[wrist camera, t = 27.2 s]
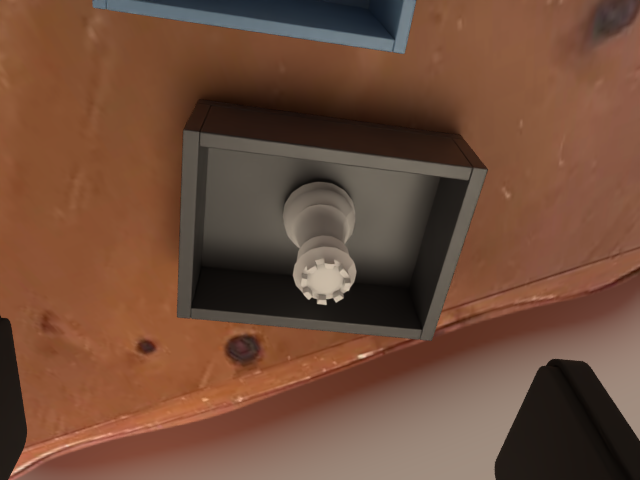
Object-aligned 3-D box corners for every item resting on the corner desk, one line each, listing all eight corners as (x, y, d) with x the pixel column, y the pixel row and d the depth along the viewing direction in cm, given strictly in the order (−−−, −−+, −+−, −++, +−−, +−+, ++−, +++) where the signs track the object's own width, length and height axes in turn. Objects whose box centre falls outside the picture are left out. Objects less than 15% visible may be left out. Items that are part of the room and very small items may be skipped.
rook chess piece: (336, 166, 33) (349, 232, 26) (365, 225, 35) (383, 300, 28) (270, 196, 34) (265, 267, 27) (301, 252, 36) (304, 331, 29)
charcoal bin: (190, 268, 37) (176, 317, 33) (198, 98, 31) (183, 129, 27) (415, 291, 39) (431, 341, 34) (461, 134, 33) (488, 169, 29)
